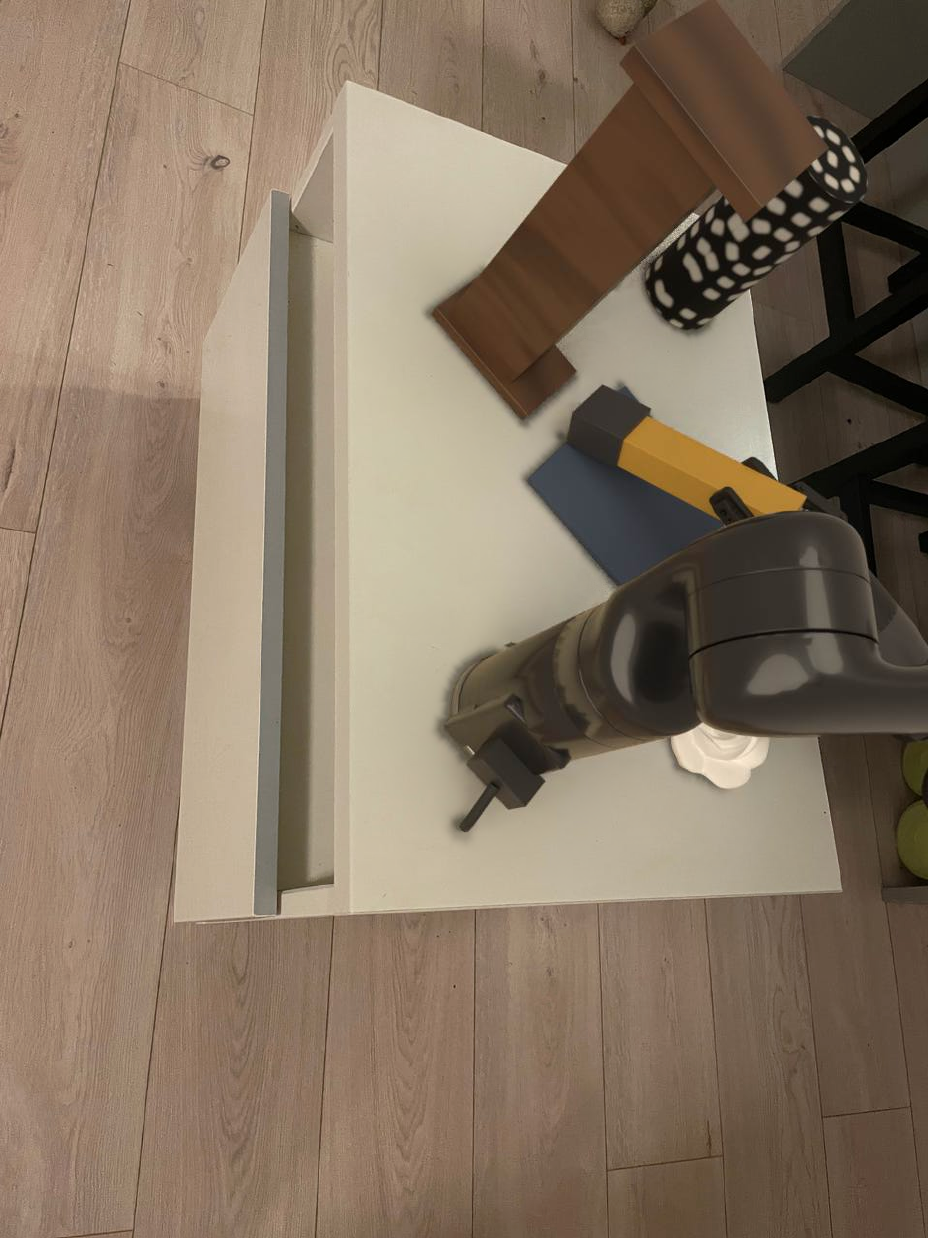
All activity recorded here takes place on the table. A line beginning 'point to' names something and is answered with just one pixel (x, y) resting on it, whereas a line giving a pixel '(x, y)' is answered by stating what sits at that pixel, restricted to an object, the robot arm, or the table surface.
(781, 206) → the white-spotted black cylinder
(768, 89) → the stand
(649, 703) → the robot arm
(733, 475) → the pen box
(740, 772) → the rose
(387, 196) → the table surface
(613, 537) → the desk mat
